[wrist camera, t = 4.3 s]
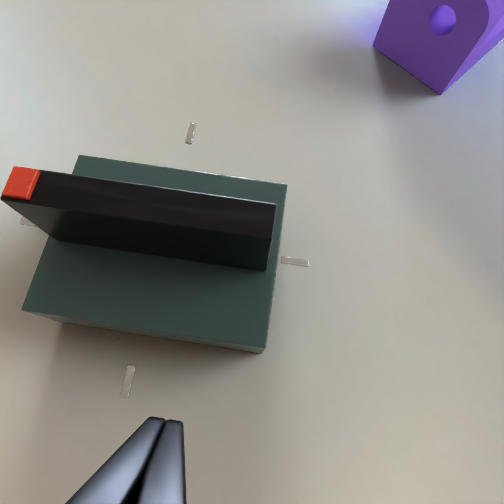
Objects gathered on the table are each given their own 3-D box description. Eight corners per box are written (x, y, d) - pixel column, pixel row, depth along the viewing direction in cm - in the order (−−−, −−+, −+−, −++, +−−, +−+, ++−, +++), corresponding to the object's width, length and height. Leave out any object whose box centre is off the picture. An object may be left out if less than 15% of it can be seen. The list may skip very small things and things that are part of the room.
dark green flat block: (308, 178, 25) (321, 140, 21) (282, 415, 19) (292, 425, 16) (95, 148, 25) (67, 105, 21) (15, 372, 20) (-41, 371, 16)
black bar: (270, 243, 18) (278, 200, 14) (265, 272, 18) (273, 237, 13) (65, 213, 19) (10, 162, 14) (55, 240, 18) (-6, 196, 14)
